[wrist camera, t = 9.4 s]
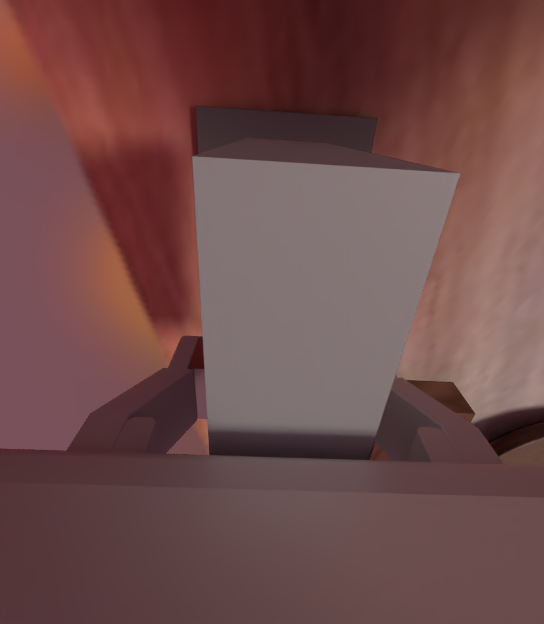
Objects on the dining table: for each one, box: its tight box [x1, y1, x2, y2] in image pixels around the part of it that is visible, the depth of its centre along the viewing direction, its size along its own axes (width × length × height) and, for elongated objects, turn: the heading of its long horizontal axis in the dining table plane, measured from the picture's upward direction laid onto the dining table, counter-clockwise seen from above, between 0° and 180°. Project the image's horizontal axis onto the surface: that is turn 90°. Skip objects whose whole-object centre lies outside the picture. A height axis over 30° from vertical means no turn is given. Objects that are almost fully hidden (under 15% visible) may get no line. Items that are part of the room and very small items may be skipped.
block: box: [192, 138, 460, 460], centre depth 11 cm, size 3×12×10 cm, turn 177°
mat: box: [196, 106, 377, 154], centre depth 21 cm, size 10×14×1 cm
